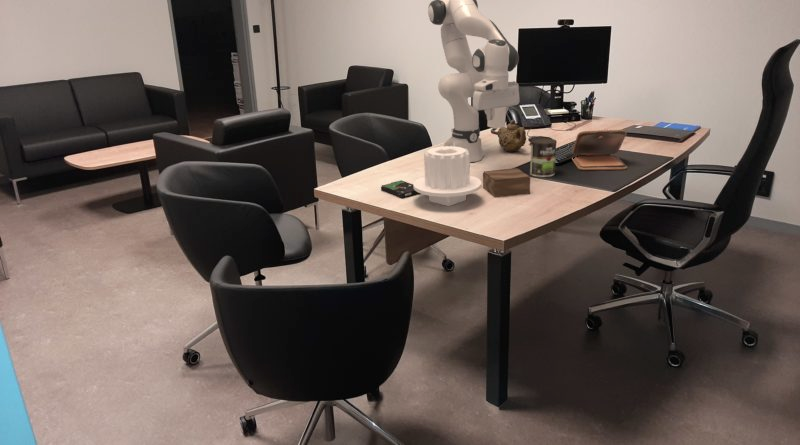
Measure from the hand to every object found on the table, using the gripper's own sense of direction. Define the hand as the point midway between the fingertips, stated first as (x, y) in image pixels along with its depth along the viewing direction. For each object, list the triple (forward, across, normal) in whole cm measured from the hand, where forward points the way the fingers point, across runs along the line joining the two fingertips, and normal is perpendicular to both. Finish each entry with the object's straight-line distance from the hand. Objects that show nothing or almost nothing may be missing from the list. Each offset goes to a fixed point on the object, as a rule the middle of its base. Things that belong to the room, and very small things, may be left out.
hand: (496, 118), depth 248 cm
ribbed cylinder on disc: (+25, +31, +13) cm, 41 cm away
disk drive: (+26, +40, -7) cm, 48 cm away
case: (+25, -49, +7) cm, 56 cm away
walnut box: (+25, +6, +15) cm, 30 cm away
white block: (+3, 0, 0) cm, 3 cm away
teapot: (+25, -33, -33) cm, 53 cm away
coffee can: (+25, -20, +5) cm, 32 cm away
